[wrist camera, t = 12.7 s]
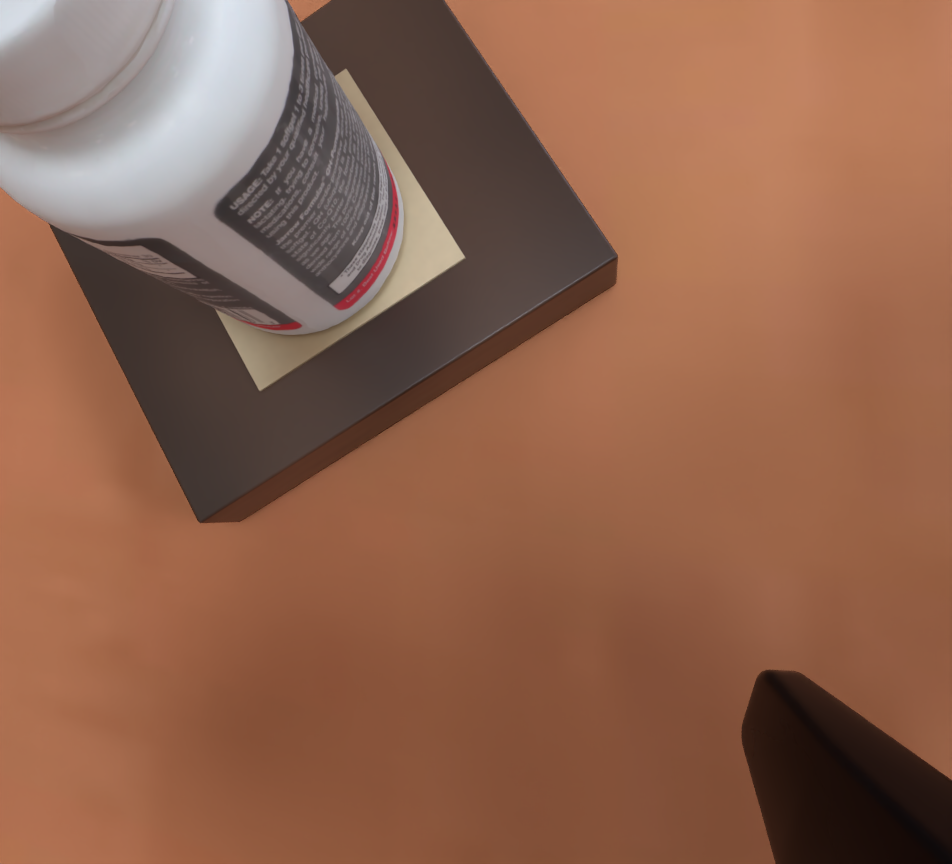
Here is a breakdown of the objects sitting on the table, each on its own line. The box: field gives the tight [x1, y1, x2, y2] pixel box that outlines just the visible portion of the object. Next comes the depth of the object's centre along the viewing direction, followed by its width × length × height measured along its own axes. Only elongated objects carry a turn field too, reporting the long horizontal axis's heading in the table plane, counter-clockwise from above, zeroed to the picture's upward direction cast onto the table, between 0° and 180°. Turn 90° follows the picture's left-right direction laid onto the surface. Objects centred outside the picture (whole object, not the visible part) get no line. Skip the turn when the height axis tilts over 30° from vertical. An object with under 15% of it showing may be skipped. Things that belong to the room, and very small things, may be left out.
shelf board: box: [49, 0, 618, 523], centre depth 19 cm, size 12×10×2 cm
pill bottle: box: [0, 0, 404, 335], centre depth 13 cm, size 5×5×10 cm
